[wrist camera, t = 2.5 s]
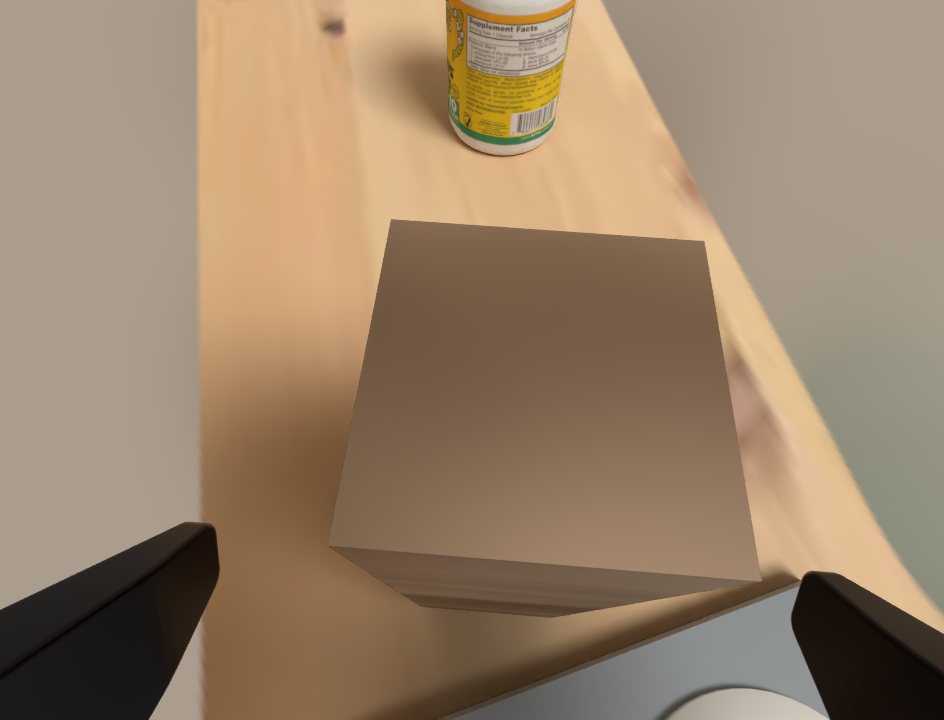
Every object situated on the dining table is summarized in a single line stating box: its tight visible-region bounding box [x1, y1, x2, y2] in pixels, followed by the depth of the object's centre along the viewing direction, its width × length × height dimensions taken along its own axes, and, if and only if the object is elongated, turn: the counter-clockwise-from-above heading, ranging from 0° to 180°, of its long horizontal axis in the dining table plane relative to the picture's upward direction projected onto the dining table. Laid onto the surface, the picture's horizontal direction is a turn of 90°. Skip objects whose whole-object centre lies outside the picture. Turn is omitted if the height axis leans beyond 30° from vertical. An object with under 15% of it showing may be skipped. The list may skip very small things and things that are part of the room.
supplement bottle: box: [446, 0, 578, 155], centre depth 22 cm, size 5×5×10 cm
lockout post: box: [327, 219, 762, 618], centre depth 11 cm, size 4×4×12 cm
